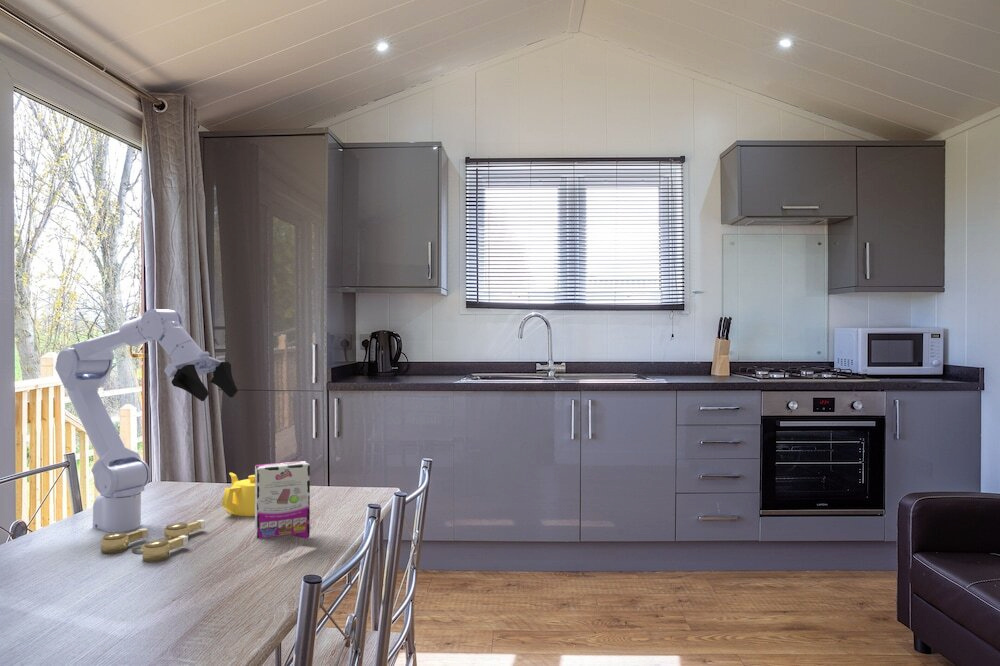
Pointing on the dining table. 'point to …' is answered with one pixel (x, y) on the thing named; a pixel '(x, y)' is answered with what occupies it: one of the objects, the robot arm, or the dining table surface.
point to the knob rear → (182, 529)
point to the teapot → (240, 496)
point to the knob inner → (120, 540)
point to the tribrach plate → (138, 549)
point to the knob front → (161, 548)
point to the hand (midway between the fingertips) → (220, 395)
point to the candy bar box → (282, 499)
